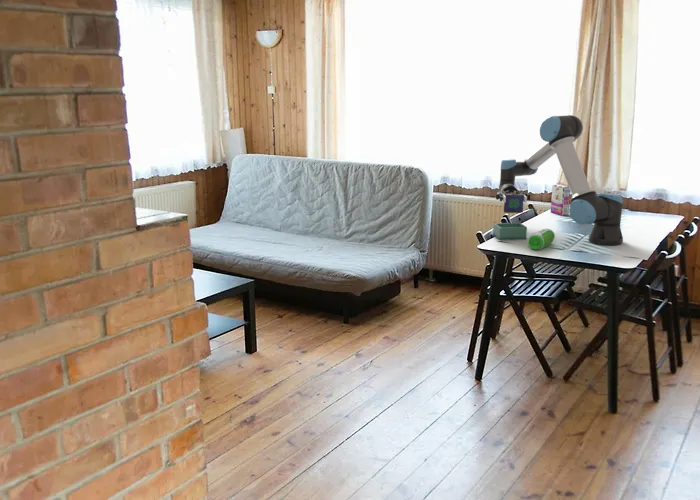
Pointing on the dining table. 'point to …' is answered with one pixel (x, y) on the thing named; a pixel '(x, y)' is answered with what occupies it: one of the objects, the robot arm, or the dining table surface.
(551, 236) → the speaker
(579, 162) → the robot arm
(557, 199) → the candy bar box
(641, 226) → the dining table surface
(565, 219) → the dining table surface
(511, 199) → the flask
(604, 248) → the dining table surface
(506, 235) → the open box
